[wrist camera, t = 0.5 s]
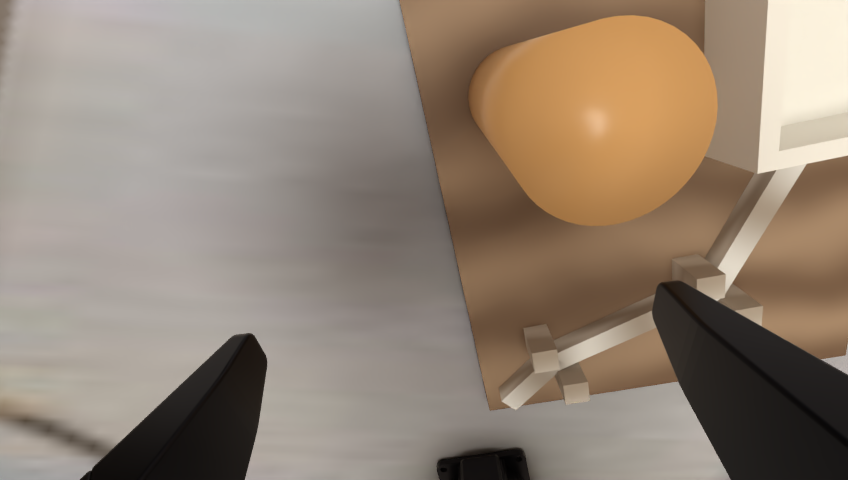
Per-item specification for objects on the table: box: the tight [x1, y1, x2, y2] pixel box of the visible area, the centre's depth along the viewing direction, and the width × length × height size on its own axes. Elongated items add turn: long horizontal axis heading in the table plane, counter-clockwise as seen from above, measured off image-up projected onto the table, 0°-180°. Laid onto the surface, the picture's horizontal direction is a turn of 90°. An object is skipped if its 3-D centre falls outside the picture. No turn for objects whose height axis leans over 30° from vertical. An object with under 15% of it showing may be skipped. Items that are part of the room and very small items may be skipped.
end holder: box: [704, 0, 848, 174], centre depth 18 cm, size 8×8×4 cm
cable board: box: [399, 0, 848, 410], centre depth 22 cm, size 26×22×4 cm
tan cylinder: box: [468, 15, 718, 226], centre depth 15 cm, size 4×4×12 cm
